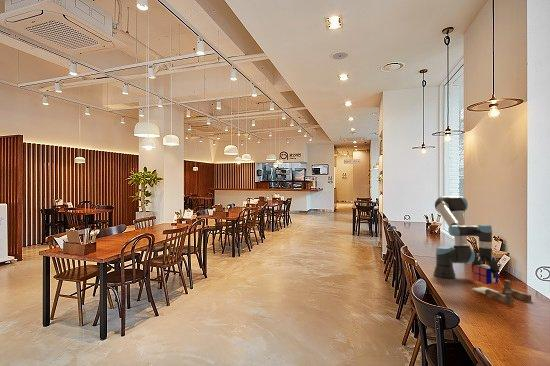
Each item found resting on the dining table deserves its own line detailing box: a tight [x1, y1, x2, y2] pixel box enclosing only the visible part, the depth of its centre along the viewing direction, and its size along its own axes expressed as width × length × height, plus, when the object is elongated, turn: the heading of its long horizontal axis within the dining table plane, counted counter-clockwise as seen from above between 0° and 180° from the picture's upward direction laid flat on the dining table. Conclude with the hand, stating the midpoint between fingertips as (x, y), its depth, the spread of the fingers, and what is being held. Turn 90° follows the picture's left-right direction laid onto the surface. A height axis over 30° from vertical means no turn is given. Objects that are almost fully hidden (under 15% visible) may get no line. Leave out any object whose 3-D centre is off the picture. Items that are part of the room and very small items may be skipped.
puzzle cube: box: [473, 264, 499, 285], centre depth 208 cm, size 10×10×10 cm
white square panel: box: [471, 286, 501, 295], centre depth 208 cm, size 11×11×1 cm
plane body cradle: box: [484, 279, 532, 306], centre depth 195 cm, size 16×18×9 cm
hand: (485, 280), depth 208 cm, fingers closed on puzzle cube, 10 cm apart
